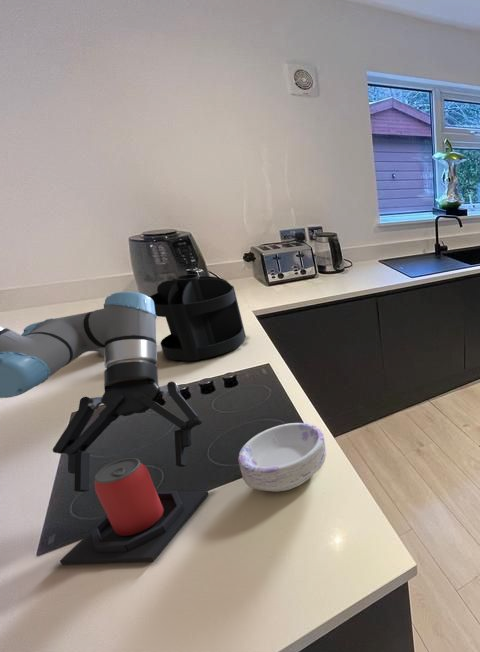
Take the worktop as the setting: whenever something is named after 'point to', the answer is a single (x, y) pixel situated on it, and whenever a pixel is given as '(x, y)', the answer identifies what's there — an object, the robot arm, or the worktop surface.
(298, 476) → the white round bowl
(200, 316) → the container
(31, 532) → the worktop surface
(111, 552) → the dock pad
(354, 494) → the worktop surface
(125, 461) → the beer can
